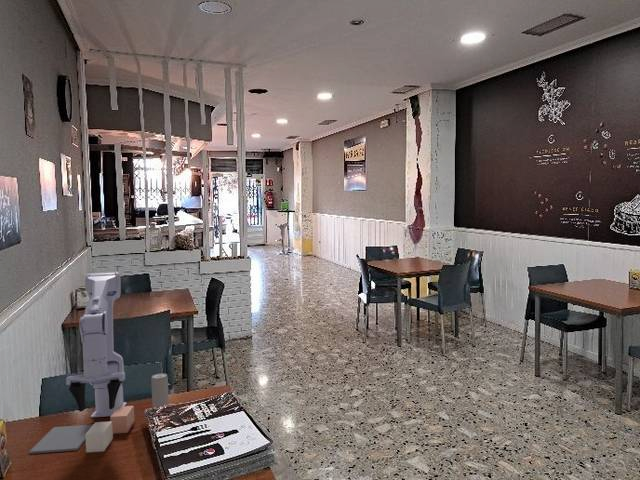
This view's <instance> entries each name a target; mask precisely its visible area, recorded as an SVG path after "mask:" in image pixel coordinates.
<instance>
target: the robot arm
mask: <svg viewBox="0 0 640 480" xmlns="http://www.w3.org/2000/svg"><path fill="white" fill-rule="evenodd" d="M121 279H122V278H121V273H120V272H119V271H116V272H97V273H90V272H89V273H86V275H85V277H84V286H85V292H86V294H87V296H88V298H89V299H88V300H87V302H86V304H85V310H84V314H83V316H80V318H79V324H78V327H79V334H80V341H81V344H82V357H83V358H82V359H83V373H82V374H81V373H80V374H75V375H68V376H67V377H66V378H65V381H66V382H65V385H66V386H69V387H68V390H69V392H70V393H71V394H72V396H73V399H75V402H76V405H77V407H78V411H79V412H80V413H81V412H83V411H84V410H86V398H85V397H86V396H85V395H86V384H90V386H93V387H92V388H93V389H94V400H95V401H94V404H95V411H93V412H92V414H91V416H90V417H91V418H102V417H104V418H105V417H111V415H112V414H113V413H114V411H115V410H116V409H117V408H118V407H122V406H127V402H126V401H124V388H123V384H122V382H124V381H125V380H126V371H125V366H124V365H125V364H124V358H123V356H122V355H121V354H119V353H118V352H116V351H114V345H115V344H114V343H115V342H114V304H115V301H116V300H118V299H119V298H120V297H121V294H122V293H121V292H122V291H121V290H122V289H121V288H122V287H121V286H122V283H121V282H122V281H121Z"/></svg>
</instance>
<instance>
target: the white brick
mask: <svg viewBox="0 0 640 480" xmlns="http://www.w3.org/2000/svg"><path fill="white" fill-rule="evenodd" d="M92 425H93V426H92V427H91V428H90V429H89V431H88V432H87V433H86V434H85V439H86V440H85V452H86V453H99V452H105V451H106V449H107V448H108V446H109V445H110V443H112V441H113V439H114V434H113V428H112V421H110V420H108V421H97V422H94V424H92Z"/></svg>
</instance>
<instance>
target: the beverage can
mask: <svg viewBox="0 0 640 480" xmlns="http://www.w3.org/2000/svg"><path fill="white" fill-rule="evenodd" d="M150 380H151V381H150V382H151V400H152V402H151V403H152V404H151V405H152V406H151V407H152V409H153V408H154V407H160V406H164V405H169V406H170V402H169V398H170V397H169V377H168V374H167V373H163V372H161V373H156V374H155V373H154V374H153V375H152V376H151V379H150Z"/></svg>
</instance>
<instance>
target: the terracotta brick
mask: <svg viewBox="0 0 640 480" xmlns="http://www.w3.org/2000/svg"><path fill="white" fill-rule="evenodd" d="M134 407H135V405H125V406H122V407H118V408H117V409H116V410H115V411H114V413H113V414H112V415H111V416H109V417H110V419H109V421H112V428H113V435H114V434H126V433H128V432H129V431H130V430H131V428H132V426H133V425H134V424H135V408H134Z"/></svg>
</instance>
